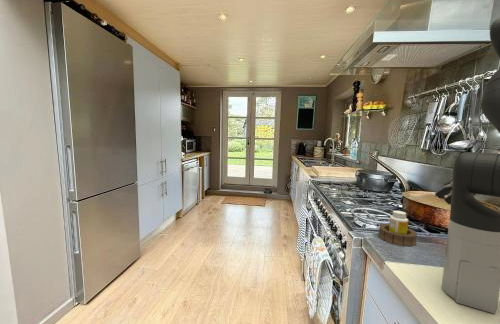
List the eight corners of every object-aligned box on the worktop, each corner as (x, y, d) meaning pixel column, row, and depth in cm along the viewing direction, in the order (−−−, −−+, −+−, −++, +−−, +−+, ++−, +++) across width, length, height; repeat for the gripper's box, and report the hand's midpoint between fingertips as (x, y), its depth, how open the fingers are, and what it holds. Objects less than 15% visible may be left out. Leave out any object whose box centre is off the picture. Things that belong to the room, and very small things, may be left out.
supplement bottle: (408, 240, 81) (411, 212, 80) (403, 244, 78) (406, 215, 77) (391, 234, 85) (393, 208, 84) (385, 238, 82) (388, 211, 81)
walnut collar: (417, 249, 74) (418, 239, 73) (379, 241, 79) (379, 231, 79) (413, 237, 84) (413, 228, 83) (378, 230, 89) (379, 222, 89)
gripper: (470, 157, 77) (426, 186, 82) (494, 160, 64) (440, 195, 69) (489, 174, 75) (442, 202, 81) (518, 180, 62) (460, 214, 68)
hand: (441, 199), depth 75 cm, fingers open, 8 cm apart
